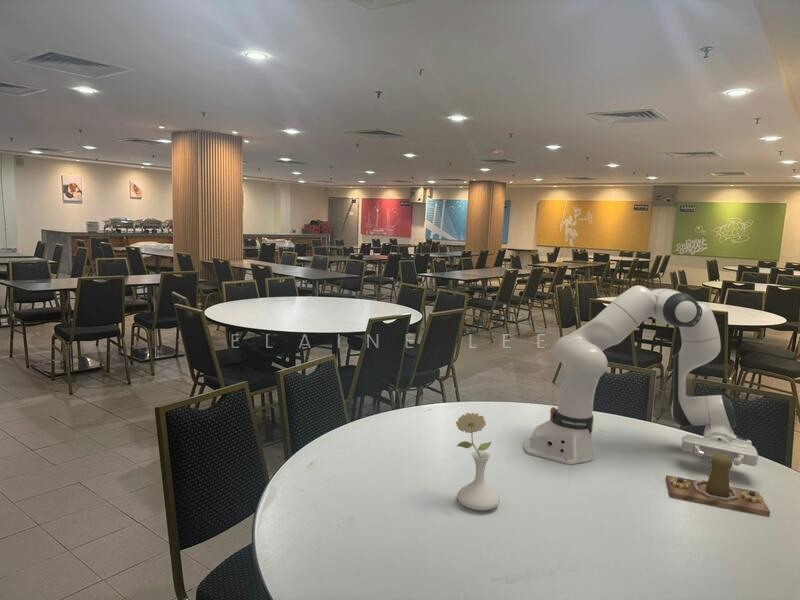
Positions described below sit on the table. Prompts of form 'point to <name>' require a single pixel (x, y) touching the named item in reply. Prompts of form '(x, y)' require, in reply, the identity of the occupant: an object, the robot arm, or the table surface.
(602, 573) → the table surface
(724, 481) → the cork
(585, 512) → the table surface
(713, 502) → the gear board
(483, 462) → the flower in vase
